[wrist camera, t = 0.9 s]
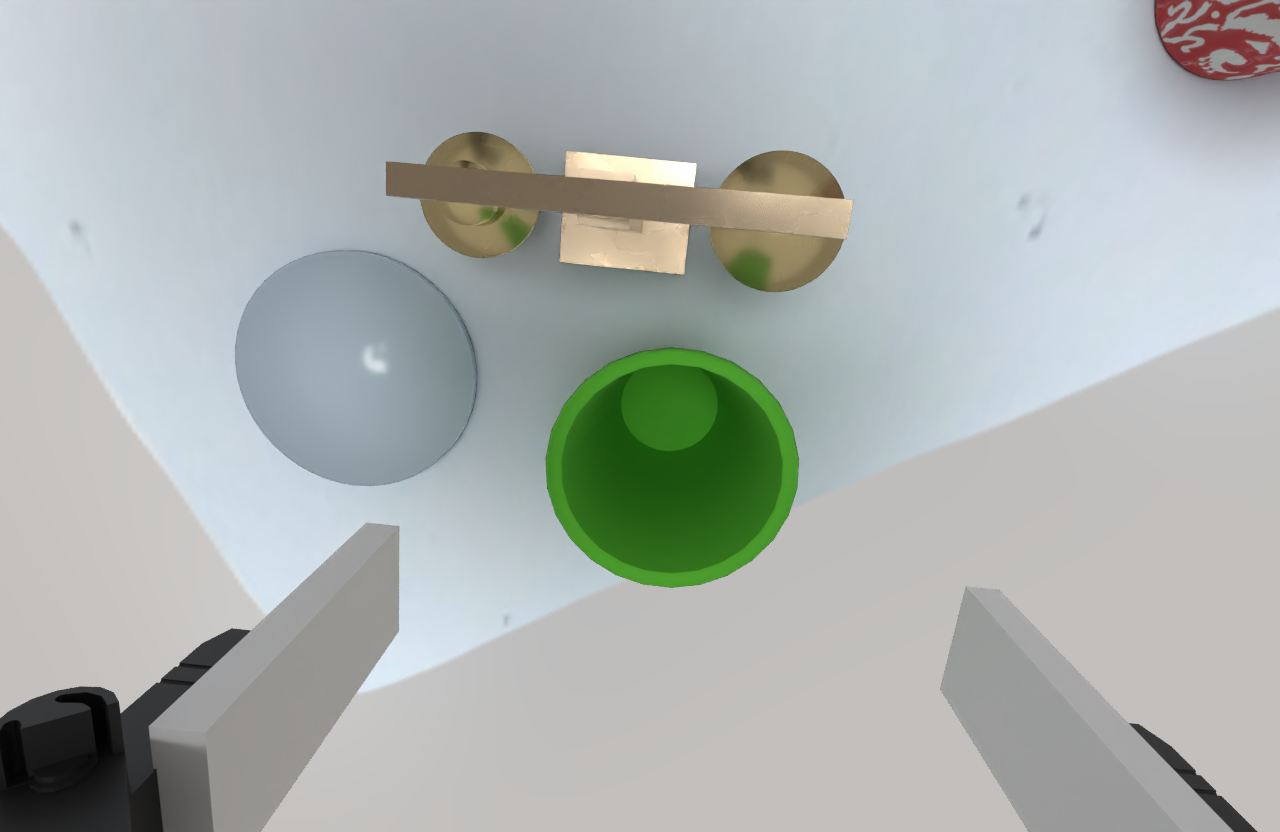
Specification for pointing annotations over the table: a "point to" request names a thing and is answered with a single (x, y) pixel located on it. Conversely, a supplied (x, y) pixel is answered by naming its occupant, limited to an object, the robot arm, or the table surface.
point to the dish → (355, 367)
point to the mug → (1222, 36)
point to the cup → (672, 467)
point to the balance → (633, 209)
